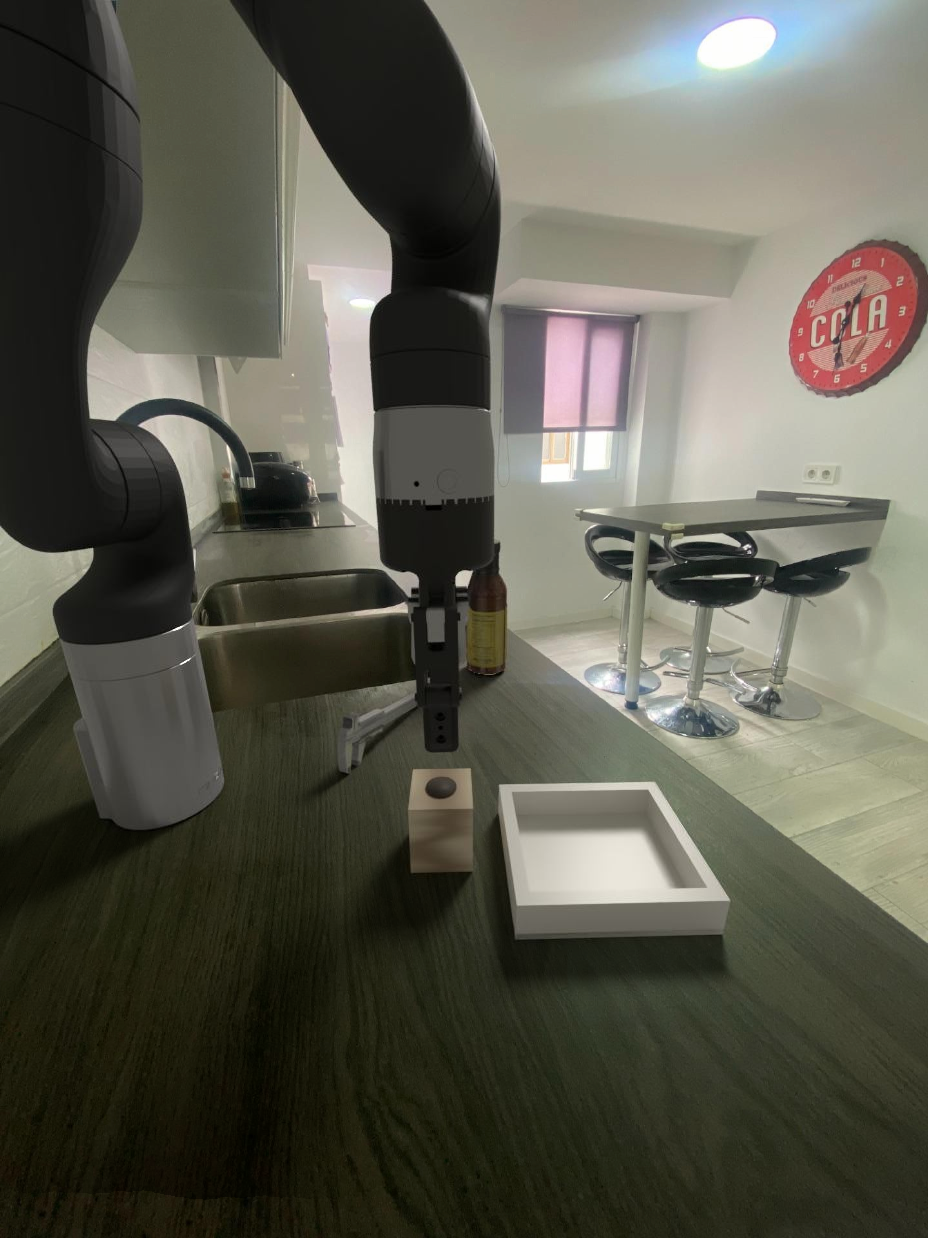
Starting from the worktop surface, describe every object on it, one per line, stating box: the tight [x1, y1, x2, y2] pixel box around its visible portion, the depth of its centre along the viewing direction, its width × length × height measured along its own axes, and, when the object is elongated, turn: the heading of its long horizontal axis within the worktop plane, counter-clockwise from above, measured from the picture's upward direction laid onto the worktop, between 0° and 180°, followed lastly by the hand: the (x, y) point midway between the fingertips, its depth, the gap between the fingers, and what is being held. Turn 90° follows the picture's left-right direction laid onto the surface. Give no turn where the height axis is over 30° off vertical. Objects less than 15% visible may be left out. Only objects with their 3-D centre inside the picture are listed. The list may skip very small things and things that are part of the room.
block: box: [407, 767, 474, 874], centre depth 38 cm, size 5×5×6 cm
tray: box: [497, 781, 731, 941], centre depth 37 cm, size 14×12×3 cm
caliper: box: [336, 691, 417, 775], centre depth 56 cm, size 20×1×6 cm, turn 157°
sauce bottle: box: [465, 538, 508, 674], centre depth 69 cm, size 7×6×20 cm
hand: (442, 716), depth 35 cm, fingers open, 8 cm apart
